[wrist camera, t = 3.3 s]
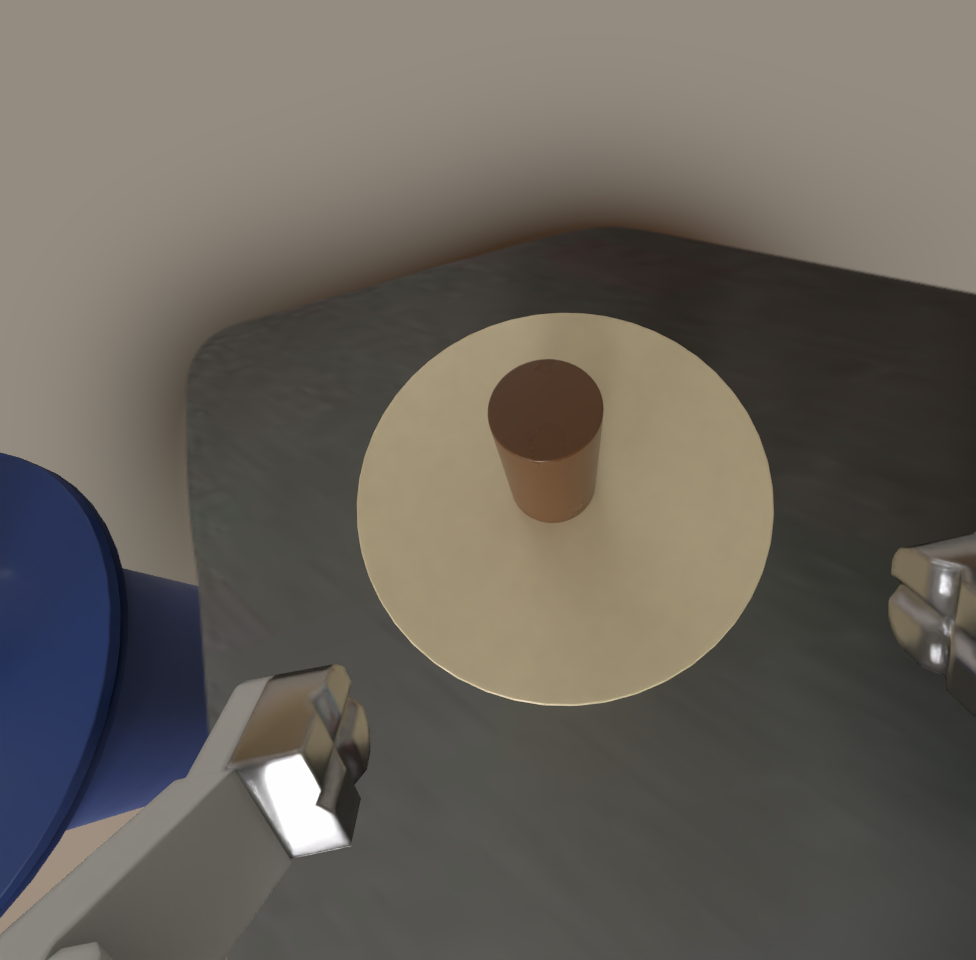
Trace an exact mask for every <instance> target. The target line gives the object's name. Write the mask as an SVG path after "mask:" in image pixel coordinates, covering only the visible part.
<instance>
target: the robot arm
mask: <svg viewBox="0 0 976 960" xmlns="http://www.w3.org/2000/svg"><path fill="white" fill-rule="evenodd" d="M891 574H892V575H893V576H894V577H895V578H896V579H897V580H898V581H899V582H900V583H901V585H900V586H899V588H898V589H897V590H896V591H895V592H894V594H893V595H892V596H891V597H890V599H889V617H888V619H889V621H890V624H891V627H892V630H893V632H894V635H895V638H896V639H897V640H898V642H899V643H900V645H901V646H902V648H903V649H904V651H905V652H906V653H907V654H908V655H909V656H910V657H911V658H912V659H913V660H914V661H915V662H916V663H917V664H918V665H920V666H922V667H925V668H927V669H930V670H932V671H935V672H937V673H940V674H942V675H944V676H945V685H946V691H947V692H948V693H949V694H950V695H951V696H952V697H953V698H955V699H956V700H957V701H958V702H959V703H960V704H961V705H962V706H963V707H964V708H965V709H966V710H967V711H968V712H970V713H971V714H972V715H973V716H974V717H975V718H976V532H975V533H972V534H966V535H961V536H957V537H952V538H947V539H943V540H938V541H933V542H928V543H924V544H919V545H914V546H909V547H905V548H900V549H898V551H897V553H896V554H895V556H894V557H893V561H892V570H891ZM350 686H351V681H350V679H349V677H348V675H347V673H346V671H345V669H344V667H343V666H340V665H337V664H333V665H328V666H322V667H317V668H311V669H306V670H300V671H295V672H289V673H284V674H278V675H275V676H270V677H264V678H259V679H254V680H248V681H244V682H243V683H241V684H240V685H239V686H237V687H236V688H235V690H234V691H233V693H232V695H231V697H230V699H229V700H228V702H227V704H226V706H225V708H224V710H223V711H222V713H221V715H220V717H219V719H218V720H217V722H216V724H215V726H214V728H213V729H212V731H211V733H210V735H209V737H208V739H207V740H206V742H205V744H204V746H203V748H202V749H201V751H200V753H199V755H198V757H197V758H196V760H195V762H194V764H193V766H192V768H191V769H190V771H189V773H188V775H187V777H186V778H184V779H180V780H175V781H174V782H173V783H171V784H170V785H169V786H168V787H167V788H166V789H165V790H163V791H162V792H161V793H160V794H159V795H158V796H157V797H156V798H154V799H153V800H152V801H151V802H150V803H149V804H148V805H146V806H145V807H144V808H143V809H142V810H141V811H140V812H139V813H137V814H136V815H135V816H134V817H133V818H132V819H131V820H129V821H128V822H127V823H126V824H125V825H124V826H123V827H122V828H120V829H119V830H118V831H117V832H116V833H115V834H114V835H112V836H111V837H110V838H109V839H108V840H107V841H106V842H104V844H102V845H101V846H100V847H99V848H98V849H97V850H95V851H94V852H93V853H92V854H91V855H90V856H89V857H88V858H86V859H85V860H84V861H83V862H82V863H81V864H80V865H79V866H77V867H76V868H75V869H74V870H73V871H72V872H70V873H69V874H68V875H67V876H66V877H65V878H64V879H62V880H61V881H60V882H59V883H58V884H57V885H56V886H55V887H54V888H52V889H51V890H50V891H49V892H48V893H47V894H46V895H45V896H43V897H42V898H41V899H40V900H39V901H38V902H36V903H35V904H34V905H33V906H32V907H31V908H30V909H29V910H27V911H26V912H25V913H24V914H23V915H22V916H21V917H19V918H18V919H17V920H16V921H15V922H14V923H13V924H11V925H10V926H9V927H8V928H7V929H6V930H5V931H3V932H2V933H1V934H0V960H225V958H226V957H227V956H228V954H229V953H230V951H231V950H232V948H233V947H234V945H235V944H236V943H237V941H238V940H239V938H240V937H241V935H242V934H243V932H244V931H245V929H246V928H247V927H248V925H249V924H250V922H251V921H252V919H253V918H254V916H255V915H256V914H257V912H258V911H259V909H260V908H261V906H262V905H263V903H264V902H265V901H266V899H267V898H268V896H269V895H270V893H271V892H272V890H273V889H274V887H275V886H276V885H277V883H278V882H279V880H280V879H281V877H282V876H283V874H284V873H285V872H286V870H287V869H288V867H289V866H290V864H291V863H292V860H291V858H295V857H300V856H305V855H310V854H314V853H319V852H324V851H329V850H333V849H338V848H343V847H348V846H351V842H352V837H353V833H354V828H355V823H356V819H357V814H358V809H359V805H360V800H361V798H360V796H359V794H358V792H357V790H356V788H355V786H354V785H355V784H356V782H357V781H358V780H359V779H360V777H361V776H362V775H363V774H364V772H365V771H366V770H367V766H368V761H369V755H370V729H369V725H368V721H367V716H366V714H365V712H364V709H363V707H362V705H361V704H360V703H359V702H357V701H355V700H354V699H352V698H350V697H349V696H348V694H349V690H350Z"/></svg>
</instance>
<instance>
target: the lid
mask: <svg viewBox="0 0 976 960" xmlns="http://www.w3.org/2000/svg"><path fill="white" fill-rule="evenodd" d="M773 519H774V506H773V487H772V481H771V476H770V470H769V465H768V461H767V458H766V455H765V452H764V449H763V446H762V443H761V440H760V437H759V435H758V433H757V431H756V429H755V427H754V425H753V423H752V421H751V419H750V417H749V415H748V413H747V411H746V410H745V409H744V407H743V406H742V404H741V403H740V401H739V400H738V398H737V397H736V395H735V394H734V392H733V391H732V390H731V389H730V388H729V387H728V386H727V385H726V383H725V382H724V381H723V380H722V379H721V378H720V377H719V376H718V374H717V373H716V372H714V371H713V370H712V369H711V368H710V367H709V366H708V365H706V364H705V363H704V362H703V361H702V360H701V359H699V358H698V357H697V356H696V355H694V354H693V353H691V352H690V351H688V350H687V349H685V348H684V347H682V346H681V345H679V344H678V343H676V342H674V341H673V340H671V339H669V338H667V337H665V336H663V335H661V334H659V333H657V332H655V331H653V330H650V329H647V328H644V327H642V326H639V325H636V324H634V323H631V322H627V321H623V320H619V319H615V318H611V317H607V316H599V315H591V314H584V313H552V314H540V315H532V316H527V317H522V318H517V319H512V320H509V321H506V322H502V323H499V324H496V325H493V326H490V327H487V328H485V329H483V330H480V331H478V332H476V333H473V334H471V335H469V336H467V337H465V338H463V339H462V340H460V341H458V342H456V343H455V344H453V345H451V346H449V347H448V348H446V349H445V350H444V351H442V352H441V353H439V354H438V355H437V356H435V357H434V358H433V359H431V360H430V361H429V362H427V363H426V364H425V365H424V366H423V367H422V368H421V369H420V370H419V371H418V372H417V373H415V374H414V375H413V376H412V377H411V378H410V380H409V381H408V382H407V383H406V384H405V385H404V386H403V388H402V389H401V390H400V391H399V392H398V393H397V395H396V396H395V398H394V399H393V400H392V402H391V403H390V405H389V406H388V408H387V409H386V411H385V412H384V414H383V416H382V418H381V420H380V422H379V423H378V425H377V427H376V429H375V431H374V433H373V435H372V438H371V441H370V443H369V446H368V449H367V452H366V454H365V457H364V462H363V466H362V470H361V475H360V479H359V488H358V498H357V523H358V533H359V539H360V545H361V551H362V555H363V559H364V562H365V565H366V568H367V572H368V575H369V578H370V580H371V582H372V584H373V586H374V589H375V591H376V593H377V595H378V597H379V599H380V601H381V603H382V604H383V606H384V607H385V609H386V611H387V612H388V614H389V615H390V617H391V618H392V620H393V621H394V623H395V624H396V625H397V627H398V628H399V629H400V630H401V631H402V632H403V633H404V635H405V636H406V637H407V638H408V639H409V640H410V642H411V643H412V644H413V645H414V646H415V647H417V648H418V649H419V650H420V651H421V652H422V653H423V654H425V655H426V656H427V657H428V658H429V659H430V660H431V661H433V662H434V663H435V664H437V665H438V666H440V667H441V668H443V669H444V670H446V671H447V672H449V673H450V674H452V675H453V676H455V677H457V678H458V679H460V680H462V681H464V682H466V683H469V684H471V685H473V686H475V687H477V688H479V689H481V690H483V691H486V692H489V693H492V694H495V695H499V696H502V697H505V698H508V699H511V700H515V701H521V702H528V703H534V704H540V705H557V706H579V705H587V704H595V703H604V702H609V701H613V700H616V699H620V698H624V697H628V696H631V695H635V694H638V693H640V692H643V691H645V690H647V689H650V688H652V687H654V686H657V685H659V684H661V683H664V682H666V681H667V680H669V679H671V678H672V677H674V676H676V675H677V674H679V673H680V672H682V671H684V670H685V669H687V668H689V667H690V666H692V665H693V664H694V663H695V662H697V661H698V660H699V659H700V658H701V657H703V656H704V655H705V654H706V653H707V652H708V651H710V650H711V649H712V648H713V647H714V646H716V644H717V643H718V642H719V641H720V640H721V639H722V638H723V636H724V635H725V634H726V633H727V632H728V631H729V630H730V628H731V627H732V626H733V625H734V624H735V623H736V621H737V620H738V618H739V617H740V615H741V613H742V612H743V610H744V609H745V607H746V606H747V604H748V602H749V601H750V599H751V598H752V595H753V593H754V591H755V589H756V586H757V584H758V582H759V580H760V577H761V575H762V573H763V570H764V567H765V563H766V559H767V555H768V552H769V548H770V544H771V537H772V528H773Z"/></svg>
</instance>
